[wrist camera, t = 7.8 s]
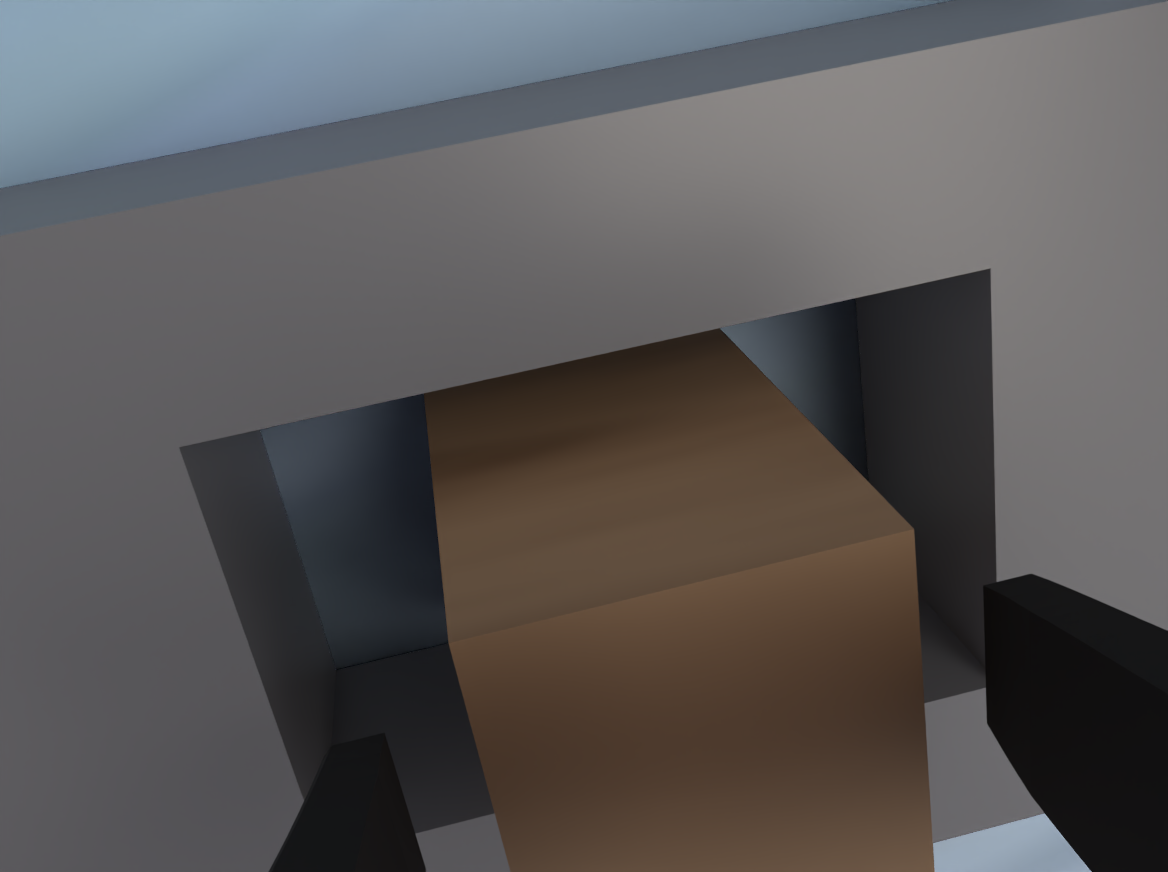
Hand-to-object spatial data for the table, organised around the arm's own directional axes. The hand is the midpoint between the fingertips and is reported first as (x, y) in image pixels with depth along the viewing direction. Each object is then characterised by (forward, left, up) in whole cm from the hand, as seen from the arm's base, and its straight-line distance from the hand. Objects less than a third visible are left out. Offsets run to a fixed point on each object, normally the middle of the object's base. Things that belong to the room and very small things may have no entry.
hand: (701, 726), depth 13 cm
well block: (0, 0, -8) cm, 8 cm away
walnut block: (0, 0, -8) cm, 8 cm away
